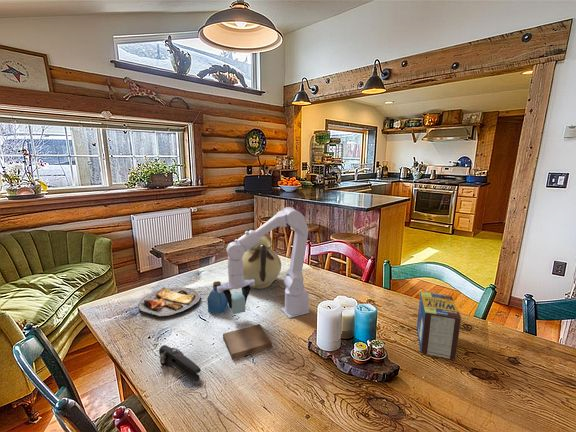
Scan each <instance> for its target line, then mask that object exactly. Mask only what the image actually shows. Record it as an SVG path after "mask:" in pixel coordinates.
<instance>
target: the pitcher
mask: <svg viewBox="0 0 576 432" xmlns="http://www.w3.org/2000/svg"><path fill="white" fill-rule="evenodd" d="M272 247H273V241H272V237H271V235H270V234H269V232H268V233H267V234H265V235H264V236H262V237H261V238H260V242H259V243H258V244H256V245H255V246H253V247H252V248H251V249H249V250H248V251H246V252H244V255H243V257H242V261H243V277H244V280H252V279H253V280H254V281H255V286H252V285H251V286H250V288H251V289H265V288H267V287H270V286H271V285H272V283H273V282H274V281H275V280H276V279H277V278H278V277H279V275H280V273H281V270H282V262H281V261H282V260H281V258H280V256H279V255H278V253H276V252H275V251H274V250H273V249H272Z"/></svg>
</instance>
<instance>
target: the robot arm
mask: <svg viewBox="0 0 576 432" xmlns="http://www.w3.org/2000/svg"><path fill="white" fill-rule="evenodd" d="M288 226H290V227H291V228H292V230H293V231H294V236H293V243H292V250H291V255H290V263H289V268H288V269H287V271H286V274H285V275H284V278H283V284H284V285H285V289H284V306H283V307H281V310H282V312H283V313H284V314H285V315H286V317H287V318H289V319H292V318H294V317H295V318H296V317H300V316H303V315H306V314H309V313H310V311H309V293H308V292H307V290H306V289H305V283H304V280H305V279H304V275H303V267H304V261H305V255H306V248H307V243H308V236H309V231H310V230H309V227H308V226H309V225H307V221H306V219H305V216H304V215H303V214H302V212H300V211H298V210H297V209H294V208H293V207H291V206H286V207H284V208H282V210H280V211H277V213H275V214H274V216H272V217H271V218H270V219H268V220H267V221H266V222H264V223H263V224H262V225H260V227H258V228H257V229H255V230H253V229H250V230H245V232H244V234H243V235H241V236H240V237H239V238H238V239H237V238H236V239H234V241H231V242H229V243H228V244H227V246H226V248H225V249H226V253H227V275H228V278H227V279H228V282H226V283H224V284H221V286H217V291H218V293H221V292H222V291H223V293H224V294H225V296H226V298H227V301H228V308H232V303H231V295H232V294H233V293H232V292H231V291H232V290H239V289H241V293H242V294H243V296H244V297H245V306H246V304H247V300H248V296H249V294H250V293H251V289H252V287H250V286H251V285H252V286H255V281H254V280H253V279H252V280H244V277H243V261H242V257H243V255H244V252H246V251H248V250H249V249H251V248H252V247H253V246H255V245H256V244H258V243H259V242H260V238H261V237H262V236H264V235H265V234H267V233H268V234H269V233H270V232H271V231H273V230H275V229H276V228H278V227H281V228H282V227H288Z"/></svg>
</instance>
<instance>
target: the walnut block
mask: <svg viewBox="0 0 576 432" xmlns="http://www.w3.org/2000/svg"><path fill="white" fill-rule="evenodd" d="M222 339H223V342H224V344H225V346H226V349H227V352H228V354H229V356H230V359H231V360H235V359H238V358H239V359H240V358H242V357H245V356H249V355H251V354H256V353H257V352H261V351H265V350H267V349H270V348H272V347H273V341H272V339H271V338H270V337H269V336H268V334H267V332H266V331H265V330H264V328H263V327H262V325H261V323H257V324H254V325H250V326H246V327H242V328H240V329H235V330H232V331H228V332H223V334H222Z"/></svg>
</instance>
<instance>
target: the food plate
mask: <svg viewBox="0 0 576 432" xmlns="http://www.w3.org/2000/svg"><path fill="white" fill-rule="evenodd" d="M200 298H201V294H200V293H199V292H198V291H197V290H196V289H194V288H190V287H182V286H178V287H177V286H174V287H168V288H167V287H161V289H159V290H155V291H153V292H152V293H149V294H147V295H146V296H144V297H142V299H141V300H140V301H139V302H138V303H137V307H138V310H139V311H141V312H143V313H146V314H150V315H153V316H154V315H155V316H157V317H169V316H172V315H175V314H178V313H181V312H184V311H185V310H188V309H190V308H191V307H193V306H194V305H196V304H197V303H198V302H199V301H200ZM184 305H186V306H184ZM169 310H172V311H171V312H168V311H169ZM164 311H165V312H164Z"/></svg>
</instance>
